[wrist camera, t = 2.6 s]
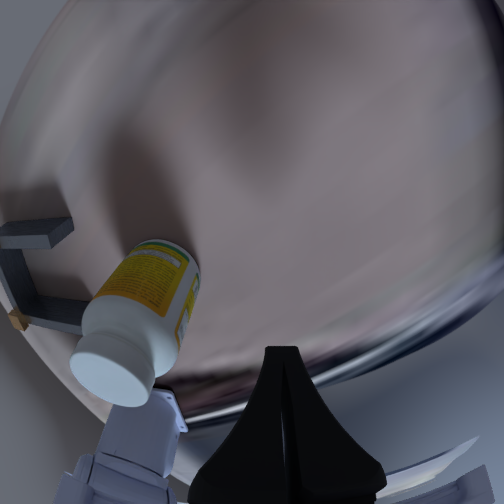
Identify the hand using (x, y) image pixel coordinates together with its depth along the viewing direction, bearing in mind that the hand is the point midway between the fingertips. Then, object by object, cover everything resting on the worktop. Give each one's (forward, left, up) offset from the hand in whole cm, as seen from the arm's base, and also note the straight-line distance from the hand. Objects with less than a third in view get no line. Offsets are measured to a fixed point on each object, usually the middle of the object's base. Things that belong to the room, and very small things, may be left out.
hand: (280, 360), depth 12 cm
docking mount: (0, +19, -7) cm, 20 cm away
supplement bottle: (0, +8, -8) cm, 11 cm away
